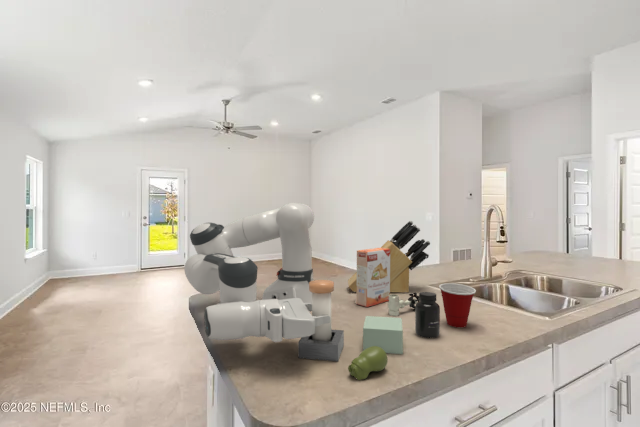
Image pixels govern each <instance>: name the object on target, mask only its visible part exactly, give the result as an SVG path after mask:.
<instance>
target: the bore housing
mask: <svg viewBox="0 0 640 427" xmlns="http://www.w3.org/2000/svg"><path fill="white" fill-rule="evenodd" d="M344 332H345V330H344V329H343V330H342V329H332V341H318V340H312V335H311V336H307V337H301V338H299V341H298V343H297V344H298V345H297V347H298V350H297V351H298V354H297V356H298V359H304V358H306V359H305V360H316V359H318V360H317V361H327V360H328V362H330V361H331V362H339V360H340V357H341V355H340V354H342V352H343V348H344V346H345V339H344V338H345V336H344V335H345V333H344Z"/></svg>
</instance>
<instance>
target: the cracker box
mask: <svg viewBox="0 0 640 427" xmlns="http://www.w3.org/2000/svg"><path fill="white" fill-rule="evenodd" d="M356 272H357V293H356V305H359V306H361V307H366V308H369V307H372V306H375V305H380V304H382V303H386V302H388V301H389V295H391V292H390V249H388V248H381V247H375V248H367V249H360V250H359V249H358V250H356Z"/></svg>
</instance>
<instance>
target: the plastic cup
mask: <svg viewBox="0 0 640 427" xmlns="http://www.w3.org/2000/svg"><path fill="white" fill-rule="evenodd" d="M438 288H439V290H440V293H441V298H442V303H443V305H442V306H443V311H444V314H445V319H446V324H447V325H448V326H450V327H452V328H453V327H454V328H460V329H461V328H466V327H467V325H468V320H469V316H470V311H471V306H472V301H473V298H474V295H475V294H476V292H477V290H476V288H474V287H472V286H470V285H467V284H461V283H455V282H446V283H441V284H439V285H438Z"/></svg>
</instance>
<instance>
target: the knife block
mask: <svg viewBox="0 0 640 427" xmlns="http://www.w3.org/2000/svg"><path fill="white" fill-rule="evenodd" d="M419 232H421V228H420V227H418V226H417V225H416V224H414V221H412V220H409V221H408V222H407V223H406V224H404V225H403V226H402V227H401V228H400V229H399V230H398V231H397V232H395V234H394V236H392V238H391V239H390V240H386V242H385V243H383V244H382V246H381V247H380V248H388V249H390V293H403V294H406V293H409V291H410V290H409V288H410V271H412V270H414V269H416V267H418V266H419V265H420V264H422V262H424V261H426V260H427V259H428V258H429V256H430V255H429V253H427V252H425V251H424V250H426V249H427V248H428V246H430V245H431V242H430V241H429V240H427V241H426V240H425V239H424V238H422V239H421V240H420V239H417V240H416V241H415V242H414V243H413V244H412V245H411V246H409V248H408V250H407V252H405V253H404V252H403V251H402V250H401V249H403V248H404V247H405V246H406V245H407V244H409V242H410V241H411V240H413V239H414V237H415V236H416V235H417V234H418V233H419ZM409 257H410V258H409ZM347 283H348V288H349V289H350V290H351V291H352V292H354V293H355V294H357V271H355V273H353V274H352V276H351V277H349V279H348V280H347Z"/></svg>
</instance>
